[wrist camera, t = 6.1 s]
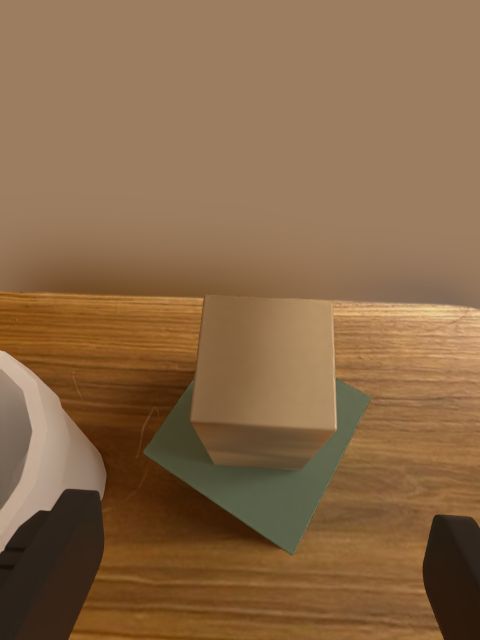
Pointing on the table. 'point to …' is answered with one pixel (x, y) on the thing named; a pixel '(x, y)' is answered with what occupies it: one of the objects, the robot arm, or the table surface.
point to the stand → (257, 472)
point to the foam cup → (38, 449)
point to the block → (264, 381)
